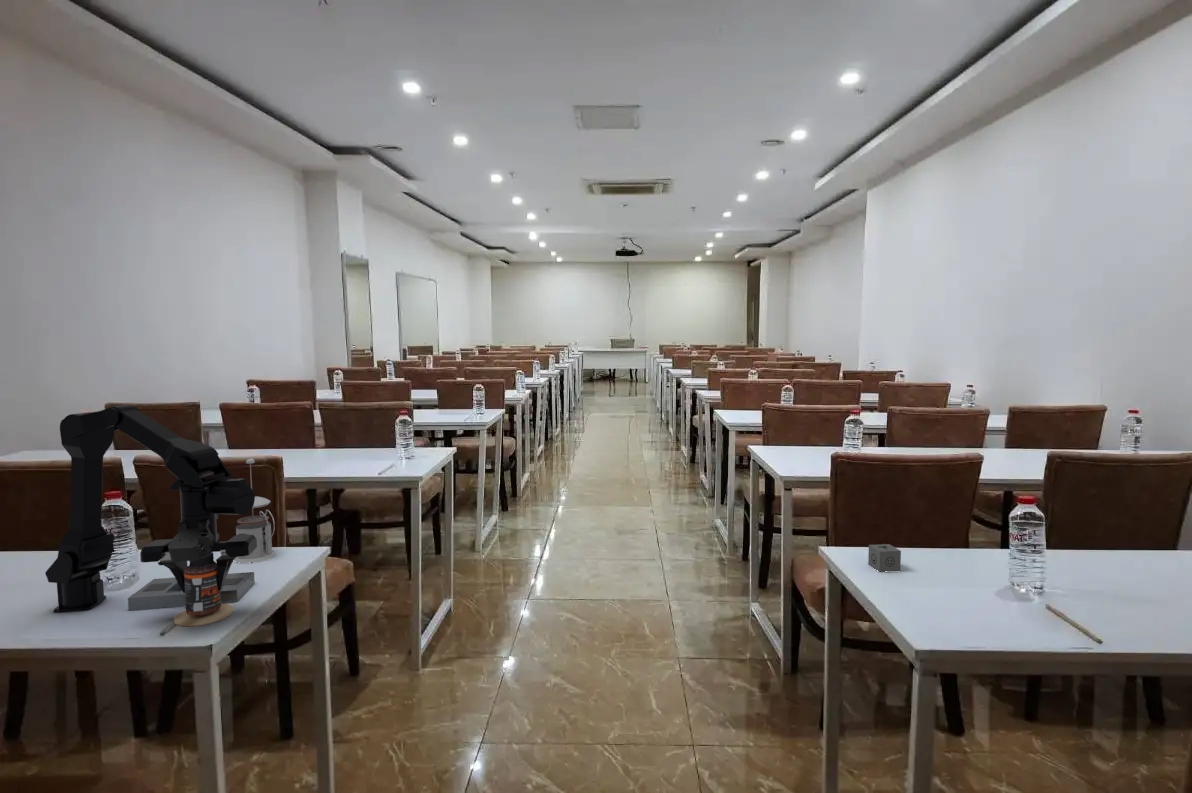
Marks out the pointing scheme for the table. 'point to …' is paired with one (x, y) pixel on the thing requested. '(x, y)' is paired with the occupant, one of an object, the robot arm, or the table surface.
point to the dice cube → (884, 557)
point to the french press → (257, 530)
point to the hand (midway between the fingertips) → (202, 591)
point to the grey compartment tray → (170, 594)
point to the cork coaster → (204, 617)
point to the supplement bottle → (202, 586)
